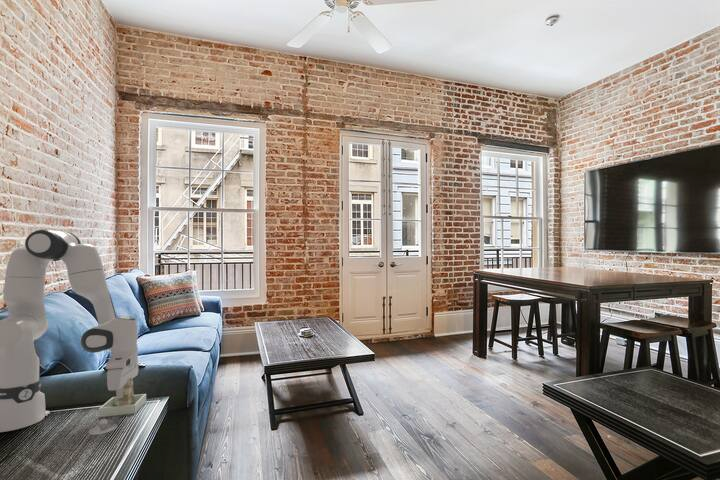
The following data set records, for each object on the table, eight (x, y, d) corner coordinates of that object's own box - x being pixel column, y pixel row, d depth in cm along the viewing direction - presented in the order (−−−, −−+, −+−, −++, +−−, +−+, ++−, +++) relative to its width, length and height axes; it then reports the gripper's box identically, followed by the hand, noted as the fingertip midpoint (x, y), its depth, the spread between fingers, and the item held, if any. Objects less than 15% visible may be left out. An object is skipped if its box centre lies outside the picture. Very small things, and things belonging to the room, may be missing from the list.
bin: (98, 419, 133) (98, 408, 133) (112, 407, 144) (112, 397, 145) (135, 415, 135) (135, 404, 136) (146, 403, 147) (146, 393, 147)
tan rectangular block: (121, 402, 142) (119, 378, 142) (133, 400, 143) (132, 377, 143) (116, 406, 138) (115, 382, 138) (130, 404, 139) (128, 381, 139)
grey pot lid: (83, 434, 121) (83, 421, 121) (109, 424, 128) (109, 412, 128) (96, 439, 117) (96, 426, 118) (122, 429, 124) (122, 416, 125)
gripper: (125, 352, 151) (125, 386, 150) (103, 365, 131) (103, 405, 130) (142, 351, 152) (142, 385, 151) (123, 364, 132) (122, 403, 131)
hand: (124, 394), depth 140 cm, fingers closed on tan rectangular block, 4 cm apart
